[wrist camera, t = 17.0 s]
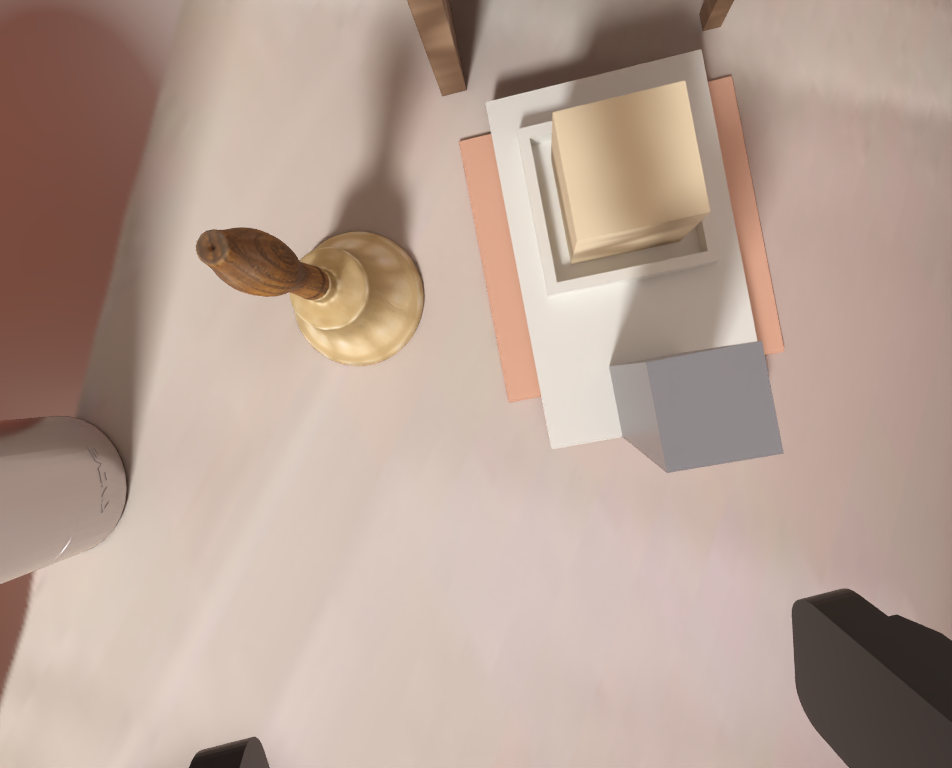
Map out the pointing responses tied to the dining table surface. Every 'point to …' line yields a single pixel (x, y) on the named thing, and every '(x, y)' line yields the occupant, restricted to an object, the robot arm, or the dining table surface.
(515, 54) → the dining table surface
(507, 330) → the pad
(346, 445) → the dining table surface
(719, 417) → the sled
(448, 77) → the small wooden table
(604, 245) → the birch block
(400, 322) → the hand bell
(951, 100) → the dining table surface
